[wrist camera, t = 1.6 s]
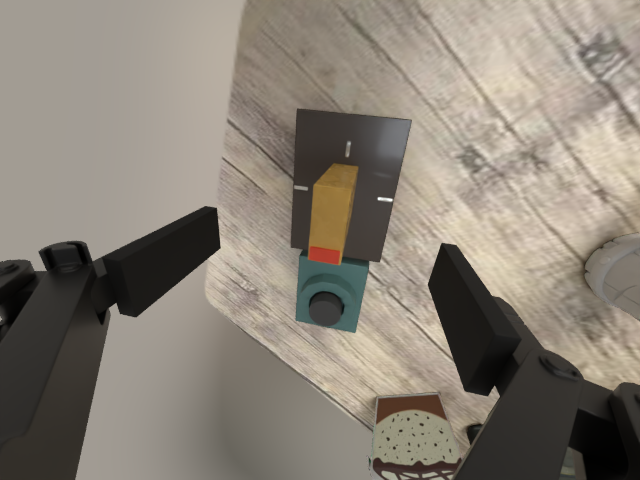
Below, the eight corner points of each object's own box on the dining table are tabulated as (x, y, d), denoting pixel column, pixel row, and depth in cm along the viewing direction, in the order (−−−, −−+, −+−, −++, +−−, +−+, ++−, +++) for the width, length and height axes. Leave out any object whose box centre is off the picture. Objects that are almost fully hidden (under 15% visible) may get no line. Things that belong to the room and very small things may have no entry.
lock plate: (303, 109, 25) (296, 108, 22) (408, 119, 23) (412, 119, 21) (296, 238, 31) (290, 248, 28) (379, 252, 30) (379, 263, 27)
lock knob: (333, 163, 24) (312, 185, 16) (358, 166, 23) (351, 190, 15) (327, 217, 26) (306, 261, 18) (350, 221, 26) (340, 267, 18)
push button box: (303, 247, 31) (295, 263, 28) (369, 258, 30) (368, 276, 27) (299, 309, 35) (291, 330, 32) (356, 321, 34) (354, 344, 31)
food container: (378, 421, 43) (380, 500, 34) (367, 397, 41) (366, 474, 32) (457, 418, 39) (483, 506, 30) (449, 391, 37) (474, 477, 28)
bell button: (313, 288, 29) (309, 298, 27) (344, 294, 29) (342, 304, 27) (310, 312, 31) (307, 323, 29) (340, 318, 30) (338, 329, 29)
